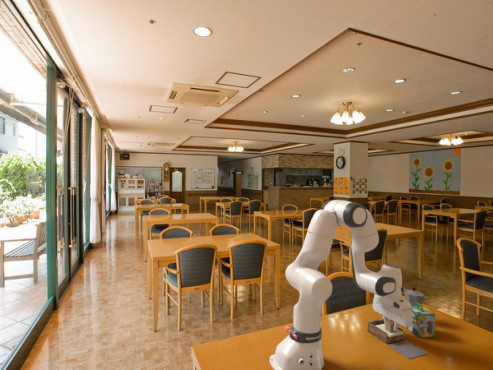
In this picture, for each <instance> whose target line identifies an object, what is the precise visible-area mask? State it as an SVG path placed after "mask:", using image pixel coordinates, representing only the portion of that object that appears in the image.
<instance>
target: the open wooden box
mask: <svg viewBox="0 0 493 370" xmlns="http://www.w3.org/2000/svg"><path fill="white" fill-rule="evenodd" d="M381 324H385V321H384V319H383V317H382V318H378V319H372V320H368V321H367V332H368V333H370V334H371V335H372V336H374V337H375V338H377V339H379V340H380V341H382V342H383V343H384V344H387V345H389V344H393V343H394V342H395V343H397V342H401V341H404V334H401V335H397V336H393V337H388V336H387V333H386V332H384V331H383V330H381V329H380V328H378V327H376V325H381ZM397 329H399V330H400V331H402V332H404V329H403V328H401V327H399V326H398V327H397Z"/></svg>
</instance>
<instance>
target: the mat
mask: <svg viewBox="0 0 493 370" xmlns="http://www.w3.org/2000/svg"><path fill="white" fill-rule="evenodd" d="M387 345H388V347H390V348H391V349H393V350H394V351H396V352H397V353H399V354H401V356H403V357H405V358H406V359H408V360H410V359H415V358H418V357H422V356H426V355H429V353H428V352H426V351H425V350H423V349H421V348H420V347H418V346H416V345H415V344H413V343H411V342H409V341H408V340H402V341H398V342H395V343H394V342H393V343H389V344H387Z"/></svg>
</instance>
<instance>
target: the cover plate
mask: <svg viewBox="0 0 493 370" xmlns="http://www.w3.org/2000/svg"><path fill="white" fill-rule="evenodd" d="M394 325H395V323H394V321H393V320H391V319H389V320H388V321H385V324H381V325H376V327H378V328H380V329H381V330H383V331H384V332H386V333H387V336H388V337H393V336H397V335H401V334H403V335H404V331H403V332H402V331H400V330H399V329H397V330H396V331H395V330H393V329H392V326H394Z"/></svg>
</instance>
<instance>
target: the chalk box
mask: <svg viewBox="0 0 493 370" xmlns="http://www.w3.org/2000/svg"><path fill="white" fill-rule="evenodd" d="M416 305H417V306H413V307H412V308H410V310H411V312H412V325H411V326H410V327H406V329H407V330H408V331H409V332H410V333H412V335H414V336H415V337H417V339H419V338H435V337H436V333H437V331H436V313H435V312H433V311H432V310H431V309H428V308H427V307H425V306H423V304H422V305H421V304H419V303H418V302H416ZM418 305H420V307H419V306H418Z"/></svg>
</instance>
